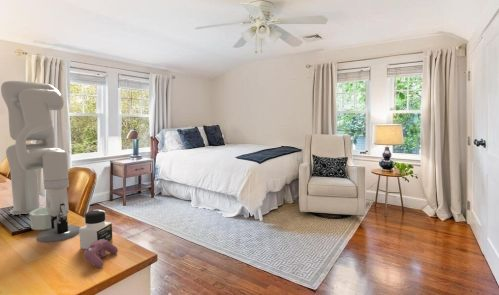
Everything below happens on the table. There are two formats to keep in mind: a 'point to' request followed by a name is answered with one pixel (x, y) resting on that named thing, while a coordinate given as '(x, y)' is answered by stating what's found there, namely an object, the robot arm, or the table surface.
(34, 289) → the table surface
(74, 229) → the lid
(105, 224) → the medicine bottle
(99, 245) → the video game controller
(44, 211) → the bowl
